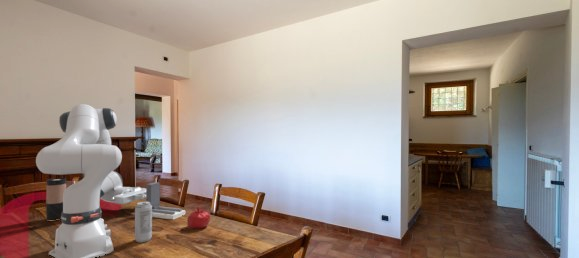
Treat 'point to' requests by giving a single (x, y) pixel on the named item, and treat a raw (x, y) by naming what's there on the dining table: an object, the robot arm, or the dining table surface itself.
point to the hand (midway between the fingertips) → (145, 197)
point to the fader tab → (153, 194)
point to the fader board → (167, 213)
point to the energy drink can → (143, 221)
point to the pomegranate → (198, 219)
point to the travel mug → (55, 198)
